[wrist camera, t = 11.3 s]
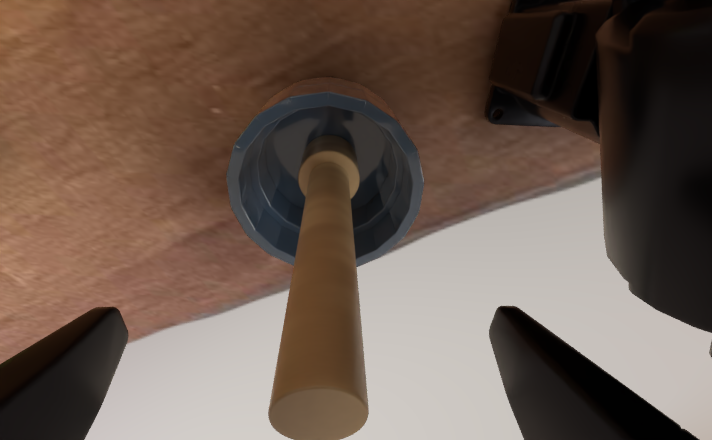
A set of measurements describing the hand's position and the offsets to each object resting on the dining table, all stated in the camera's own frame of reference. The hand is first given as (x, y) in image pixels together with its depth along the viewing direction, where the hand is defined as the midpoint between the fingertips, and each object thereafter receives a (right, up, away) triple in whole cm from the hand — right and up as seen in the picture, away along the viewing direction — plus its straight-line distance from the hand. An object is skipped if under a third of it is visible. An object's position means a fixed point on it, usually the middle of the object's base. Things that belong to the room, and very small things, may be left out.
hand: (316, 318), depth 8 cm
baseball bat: (0, +5, +9) cm, 11 cm away
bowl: (0, +6, +10) cm, 11 cm away
